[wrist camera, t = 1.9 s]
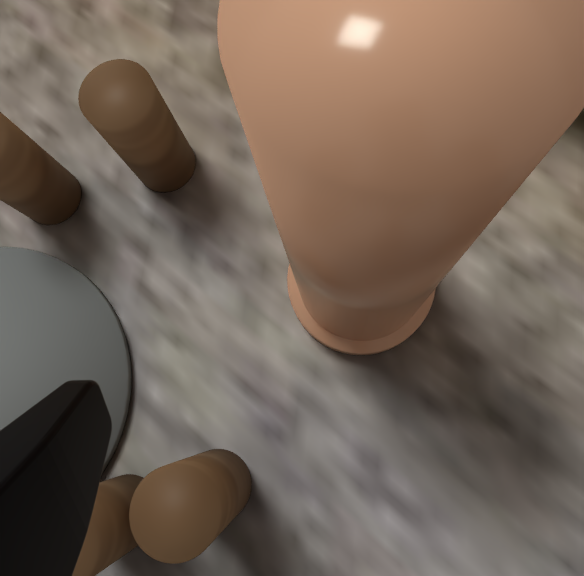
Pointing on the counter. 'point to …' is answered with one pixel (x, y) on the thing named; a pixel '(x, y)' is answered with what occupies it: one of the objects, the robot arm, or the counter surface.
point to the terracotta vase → (394, 139)
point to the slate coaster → (57, 337)
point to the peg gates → (57, 208)
